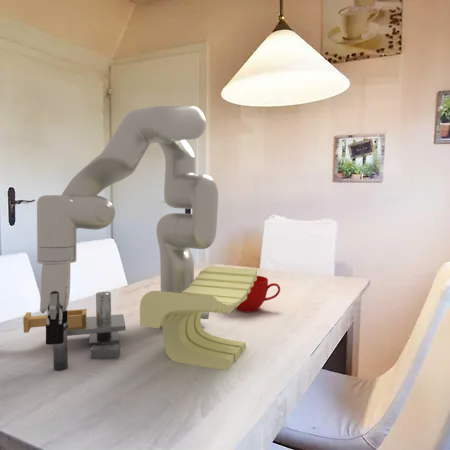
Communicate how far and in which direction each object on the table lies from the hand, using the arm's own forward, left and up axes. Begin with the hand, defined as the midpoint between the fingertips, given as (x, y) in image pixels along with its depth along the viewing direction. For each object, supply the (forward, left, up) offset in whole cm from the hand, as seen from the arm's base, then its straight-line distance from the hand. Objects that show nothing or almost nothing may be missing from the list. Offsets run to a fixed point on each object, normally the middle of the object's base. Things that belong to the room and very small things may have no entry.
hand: (57, 335), depth 83 cm
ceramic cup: (-38, -51, -7) cm, 64 cm away
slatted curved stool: (-29, -13, -7) cm, 33 cm away
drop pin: (0, -1, -7) cm, 7 cm away
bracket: (+8, -13, -3) cm, 15 cm away
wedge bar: (-7, -8, -7) cm, 13 cm away
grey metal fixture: (0, -16, -7) cm, 18 cm away
